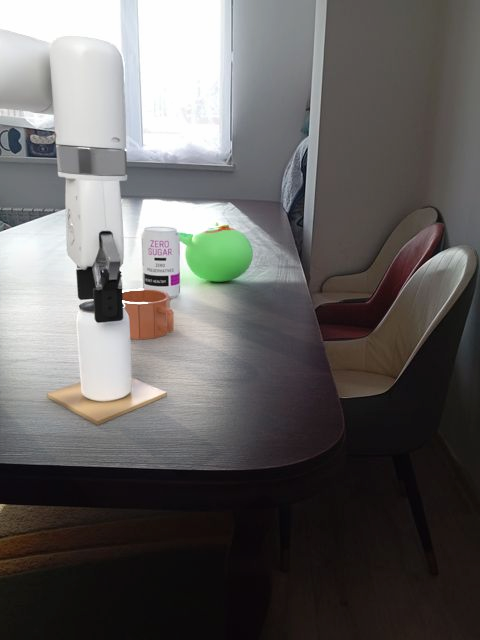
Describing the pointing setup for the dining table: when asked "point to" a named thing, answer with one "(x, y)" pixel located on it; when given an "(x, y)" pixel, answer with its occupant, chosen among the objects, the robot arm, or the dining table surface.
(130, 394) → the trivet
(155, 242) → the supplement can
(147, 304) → the mug
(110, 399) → the can
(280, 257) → the dining table surface
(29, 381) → the dining table surface
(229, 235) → the green teapot
